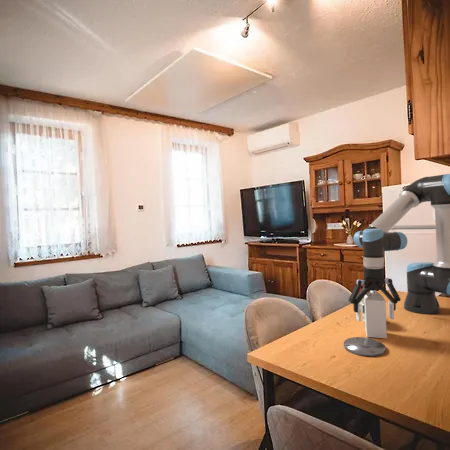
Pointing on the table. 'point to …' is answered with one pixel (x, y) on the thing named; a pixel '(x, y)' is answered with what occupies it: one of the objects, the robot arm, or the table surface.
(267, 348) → the table surface
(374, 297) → the milk carton
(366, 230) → the robot arm
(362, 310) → the pneumatic valve
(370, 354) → the duct flange
